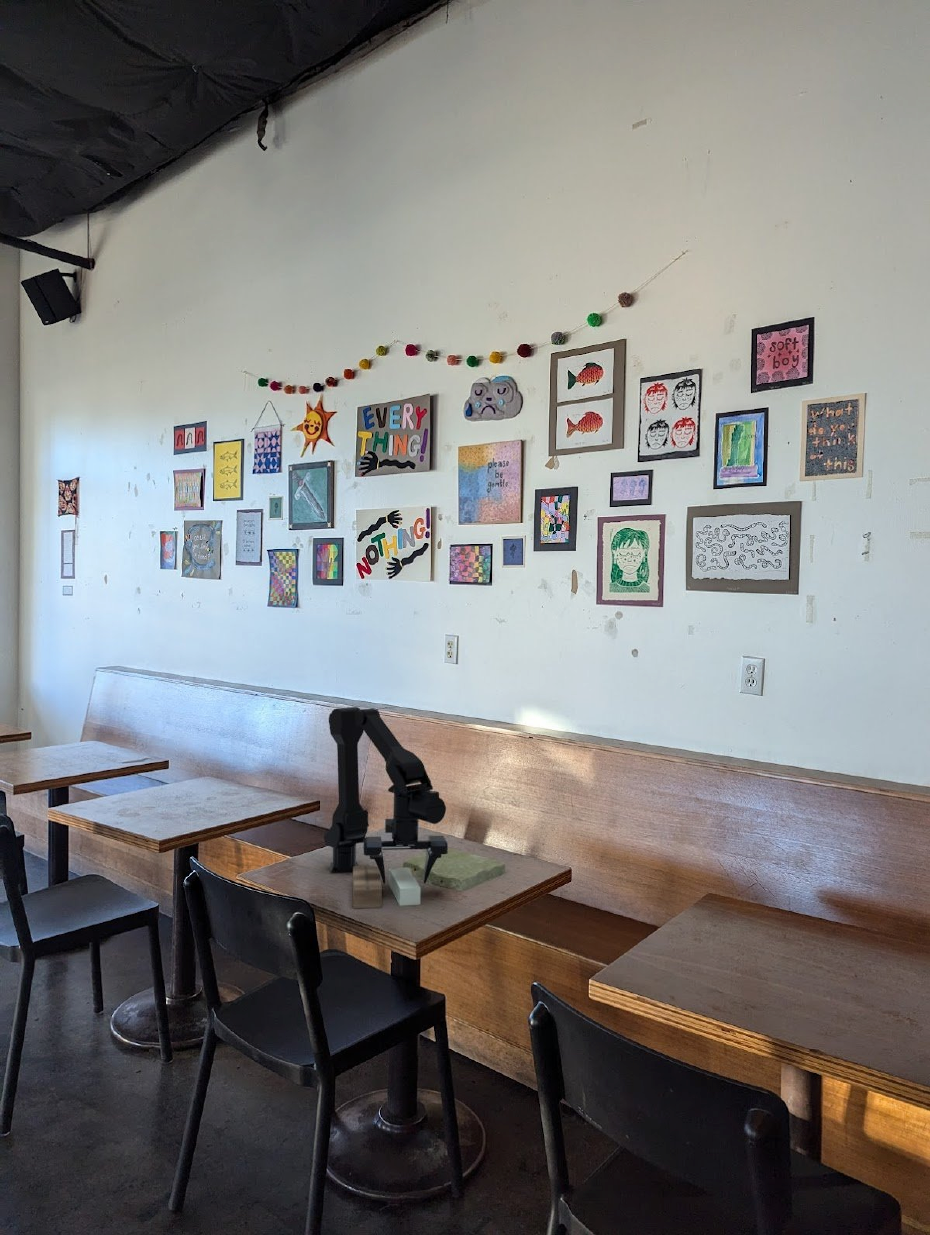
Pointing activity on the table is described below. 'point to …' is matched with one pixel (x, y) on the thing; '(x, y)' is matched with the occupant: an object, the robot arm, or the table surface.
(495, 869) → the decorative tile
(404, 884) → the sage plank
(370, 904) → the walnut plank
